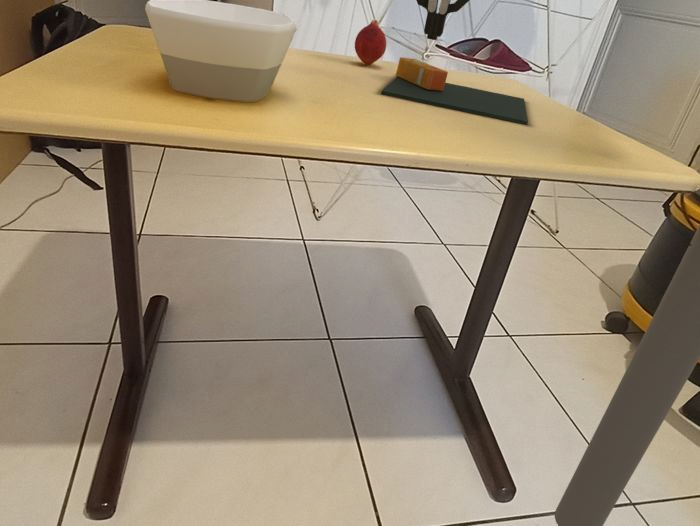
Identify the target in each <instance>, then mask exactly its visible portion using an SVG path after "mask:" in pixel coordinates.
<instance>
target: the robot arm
mask: <svg viewBox="0 0 700 526" xmlns="http://www.w3.org/2000/svg"><path fill="white" fill-rule="evenodd" d="M415 1H416V3H417V5H418V6H419V7H422V8H424V9H425V10H426V12H427V14H426V18H425V23H424V28H423V32H424V35H426V39H427V40H433V41H437V40H438V37H439V38H441V36H442V35H443V33H444V29H445V26H446V25H445V24H446V20H447V17H448V15H449V14H452V13H457V12H458V11H460V10H461V9H462V8H463V7H464V6H465V5H466V4H468V2H469V1H470V0H456V1H455V2H453V3H451V1H452V0H441V1H440V4H439V0H415ZM438 6H439V7H438Z"/></svg>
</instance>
